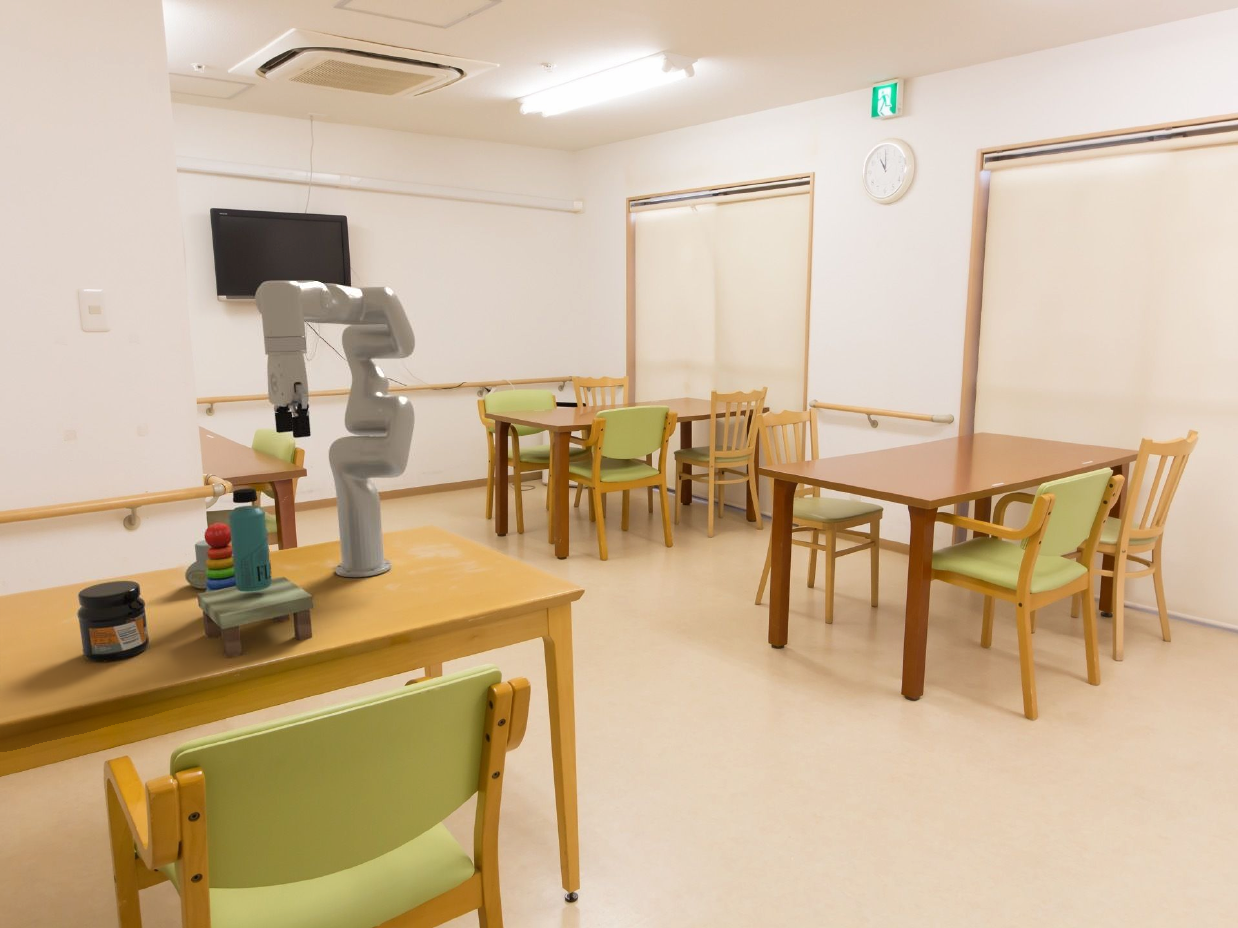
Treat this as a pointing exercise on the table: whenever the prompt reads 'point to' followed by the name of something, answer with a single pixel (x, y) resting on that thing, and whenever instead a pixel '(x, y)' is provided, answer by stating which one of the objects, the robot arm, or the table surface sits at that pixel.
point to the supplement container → (112, 621)
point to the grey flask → (199, 566)
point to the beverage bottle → (249, 544)
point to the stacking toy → (219, 558)
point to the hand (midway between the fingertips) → (293, 434)
